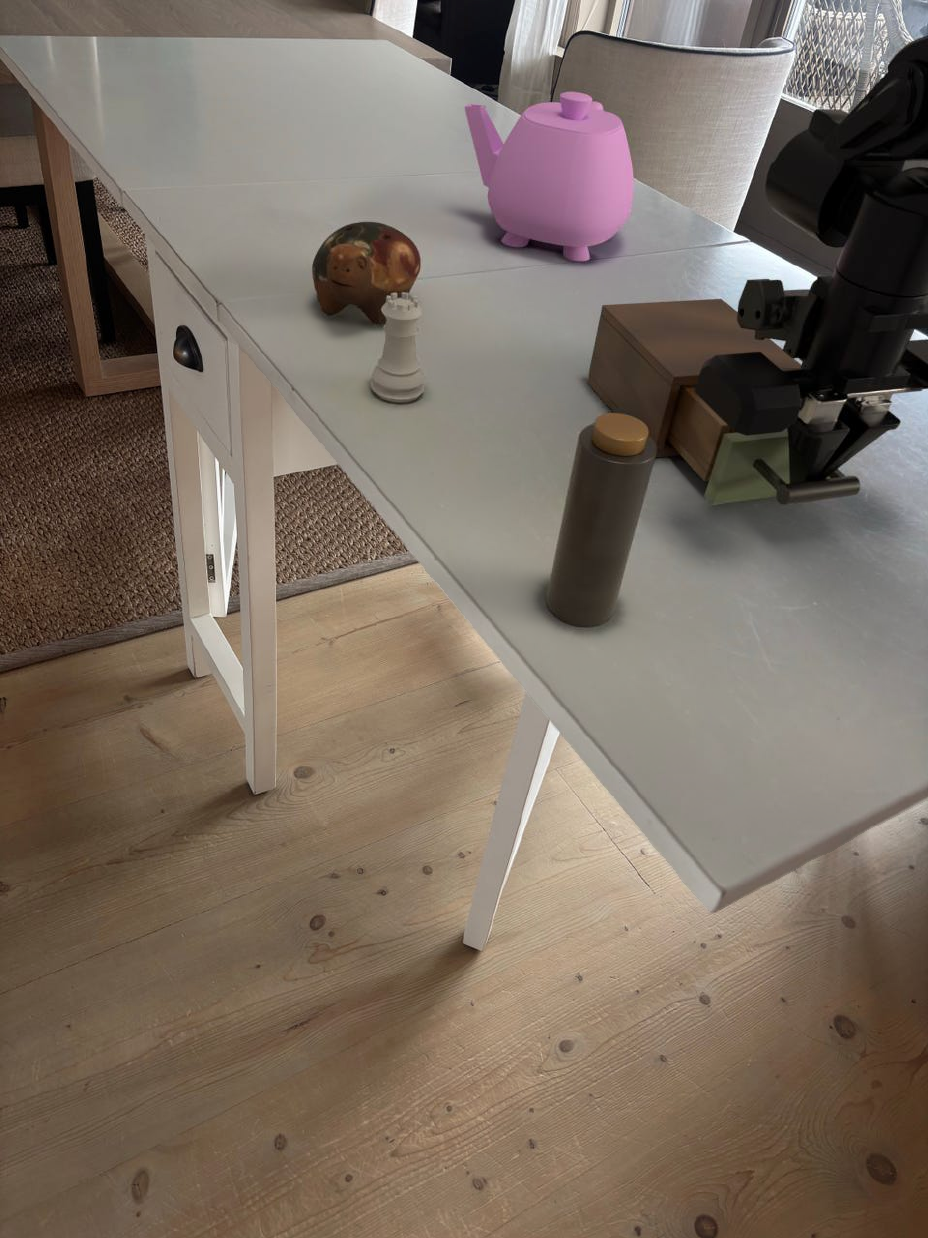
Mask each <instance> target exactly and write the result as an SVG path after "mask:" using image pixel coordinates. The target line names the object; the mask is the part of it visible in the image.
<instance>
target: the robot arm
mask: <svg viewBox="0 0 928 1238" xmlns="http://www.w3.org/2000/svg"><path fill="white" fill-rule="evenodd" d="M886 71H887V72H886V73H885V74H884V75H883V77H882V78H881V79H879V80H878V82H877V83H876V84H875V85H874V86H873V87H872V88H871V89H870V90H869V92H868V93H867V94H866V95H865V96H864V97H863V98H862V99H861V100H860V101H859V102H858V103H857V104H856V106H855V107H853V109H852V110H851V111H850V112H849V113H848V112H847V111H845V110H842V109H839V108H837V109H835V108H833V109H832V108H816V109H814V110H813V112H812V115H811V119H810V121H809V125H808V128H806V129H804V130H803V131H801V132H798V133H797V134H796V135H795V136H793V137H792V138H791V139H790V140H789V141H788V142H787V143H786V144H785V145H784V146H783V147H782V149H781V150H780V151H779V153H778V154H777V156H776V158H775V159H774V161H772V162H771V163H770V165H769V168H768V170H767V173H766V180H765V185H764V187H765V197H766V200H767V204H768V205H769V207H770V208H771V209H772V211H773V212H775V213H777V215H779V216H781V218H784V219H785V220H787V221H788V222H789V223H791V224H793V226H796V227H798V229H801V230H802V231H803V232H805V233H806V234H808V235H809V236H811V237H813V238H814V239H816V240H817V241H819V242H820V243H822V244H824V245H825V246H827V247H831V248H833V249H834V248H835V249H836V248H837V249H840V248H842V250H841V252H840V255H839V258H838V260H837V263H836V266H835V268H834V271H833V274H832V275H823V276H822V275H821V276H816V279H815V280H814V281H813V282H812V283H811V286H810V288H807V289H805V288H803V289H784V284H783V281H782V280H781V279H769V278H757V279H756V278H755V279H754V278H753V279H747V280H746V282H745V284H744V287H743V289H742V291H741V295H740V298H739V300H738V305H737V312H738V313H737V322H738V324H739V326H740V327H741V328H744V329H751V330H755V339H757V340H764V339H765V338H769V339H771V340H775V341H781V342H784V345H783V348H782V349H783V351H784V352H785V353H786V354H787V355H789V356H790V357H791V358H794V359H799V361H801V369H800V370H788V371H782V370H781V369H780V368H779V367H778V366H776V365H775V364H774V363H773V362H772V361H771V360H769V359H768V358H767V357H766V356H765V355H764V354H762V353H761V352H749V353H736V354H723V355H715V356H713V357H712V358H710V359H708V360H707V361H705V362H704V364H703V366H702V368H701V371H700V374H699V378H698V381H697V385H696V388H695V391H694V392H695V393H696V394H697V395H698V396H699V397H700V398H701V399H702V400H703V401H704V402H705V403H706V404H707V405H708V406H709V407H710V408H711V409H712V410H713V411H714V412H715V413H716V414H717V415H718V416H719V417H720V418H721V419H722V420H723V421H724V422H725V423H726V424H727V425H728V426H729V427H730V428H731V429H732V430H733V431H734V432H737V433H740V434H743V435H746V436H749V435H759V434H768V433H778V432H782V431H784V430H785V429H786V428H787V432H788V442H789V477H790V483H798V482H806V481H814V480H822V479H826V478H827V477H828V476H830V475H831V474H832V473H833V472H835V471H836V470H837V469H838V470H839V469H840V468H841V467H842V466H843V465H844V464H846V463H847V462H848V461H850V460H851V459H852V458H853V457H855V456H856V455H857V454H858V453H860V452H861V451H863V450H864V449H865V448H867V447H868V446H870V445H871V444H872V443H873V442H875V441H876V440H877V439H879V438H880V437H882V436H883V435H884V434H886V433H888V432H889V431H894V430H897V429H898V427H899V426H900V424H901V422H902V421H901V420H900V418H899V417H897V416H896V415H895V414H894V413H893V412H891V411H890V407H891V405H892V403H893V402H892V401H891V399H892V397H893V395H895V394H906V393H915V392H916V393H917V392H922V391H923V390H928V338H925V339H912V336H913V334H914V332H915V330H919V329H928V304H927V302H928V167H926V166H915V167H910V168H906V169H904V167H905V163H906V162H928V34H926V35H925V36H921V37H918V38H916V39H914V40H912V41H909V42H908V43H906V44H905V45H904V46H903V47H902V48H900V50H898V51H897V52H896V53H895V55H894V56H893V57H892V59H891V60H890V61H889V63H888V64H887V66H886ZM911 339H912V340H911Z"/></svg>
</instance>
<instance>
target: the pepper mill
mask: <svg viewBox="0 0 928 1238" xmlns="http://www.w3.org/2000/svg"><path fill="white" fill-rule="evenodd" d="M648 433H649V432H648V428H647V426H646V425H645V424H644V423H643V422H642V421H641V420H639V419H637V418H635V417H633V416H630V415H626V414H620V413H613V412H611V413H605V414H601V415H599V416H598V417H597V418H596V419H595V421H594V423H592V424H589V425H587V426H585V427H584V428H582V430H581V431H580V433H579V435H578V437H577V438H578V439H577V442H576V443H577V444H576V449H575V453H574V460H573V462H572V463H573V464H572V468H571V474H570V478H569V484H568V488H567V493H566V498H565V504H564V507H563V511H562V517H561V523H560V528H559V532H558V538H557V543H556V547H555V552H554V557H553V562H552V566H551V572H550V576H549V582H548V586H547V591H546V597H545V602H546V605H547V607H548V609H549V611H550V612H551V614H552V615H553V616H555V617H556V618H557V619H558V620H561V622H562V621H563V622H565V623H567V624H570V625H573V626H577V627H586V628H587V627H596V626H600V625H602V624H604V623H606V622H607V621H609V620H610V619H611V618H612V616H613V614H614V612H615V609H616V605H617V601H618V597H619V593H620V590H621V586H622V582H623V579H624V575H625V571H626V568H627V564H628V560H629V557H630V552H631V549H632V545H633V542H634V538H635V534H636V530H637V527H638V523H639V520H640V516H641V511H642V508H643V505H644V500H645V499H646V494H647V489H648V487H649V482H650V479H651V475H652V472H653V468H654V464H655V461H656V458H655V457H656V453H657V446H656V444H655V442H654V440H653V439H652V438H651V437H650V436H649V435H648Z"/></svg>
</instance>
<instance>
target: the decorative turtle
mask: <svg viewBox="0 0 928 1238" xmlns="http://www.w3.org/2000/svg"><path fill="white" fill-rule="evenodd" d="M421 262H422V261H421V254H420V251H419V250H418V247H417V246H416V244H415V243H414V241H413V240H412V239H411V238H410V237H408V236H407V235H406V234H404V232H402V231H400V230H398V229H397V228H395V227H393V226H390V225H389V224H385V223H382V222H377V221H359V222H358V221H357V222H353V223H349V224H346V225H344V226H341V227H339V228H338V229H336V230H335V231H334V232H332V233H331V234H330V235H328V237H327V238H325V240H324V241H323V242H322V244H321V245H320V247H319V248H318V250H317V251H316V253H315V255H314V258H313V261H312V266H311V272H312V279H313V284H314V285H313V286H314V290H315V292H316V297H317V301H318V304H319V306H320V309H321V311H322V312H323V313H324V315H326V316H328V317H332V316H335V315H338V314H339V313H340V312H342V311H343V310H344V309H345V308H346V307H348V306H350V305H352V306H354V307H356V308H358V309H359V310H360V311H361V312H362V313H363V314H364V316H365V317H366V318H367V319H368V320H369V321H370V322H371V323H372V324H374V325H377V326H381V325H383V324H386V322H387V321H386V317H385V316H384V314H383V313H382V311H381V308H382V306H383V305H384V304H385V303H386V298H387V295H388V296H391V293H395V292H396V293H397V298H402V292H404V293H408V294H410V291H411V290H412V287H413V286H414V284H415V282H416V281H417V279H418V277H419V274H420V271H421V266H422V265H421Z"/></svg>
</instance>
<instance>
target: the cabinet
mask: <svg viewBox="0 0 928 1238" xmlns="http://www.w3.org/2000/svg"><path fill="white" fill-rule="evenodd" d="M737 313H738V310H736V309H734V308H733V307H732V306H731V305H730V304H728V302H726V301H725V300H724V299H722V298H710V299H709V298H708V299H692V300H691V299H689V300H671V301H653V302H633V303H616V304H615V303H614V304H602V305H601V310H600V316H599V319H598V324H597V325H598V326H597V330H596V336H595V340H594V345H593V349H592V355H591V360H590V366H589V370H588V376H587V380H586V382H587V384H588V385H589V386H590V387H591V388H592V389H593V391H594V392H595V393H596V394H597V395H598V396H599V398H600V399H601V400H602V401H603V402H604V403H605V405H606V406H607V407H608V408H609V410H611V413H620V414H626V415H630V416H633V417H635V418H637V419H639V420H641V421H642V422H643V423H644V424H645V425H646V426H647V428H648V432H649V433H648V435H649V436H650V437H651V438H652V439H653V440H654V442H655V444H656V446H657V453H656V457H655V459H656V458H665V457H675V456H681V455H680V454H679V453H678V451H677V450H676V449H675V448H674V447H673V446H672V445H671V444H670V443H669V441H668V440H667V439H666V436H667V433H668V429H669V426H670V422H671V418H672V415H673V411H674V407H675V404H676V400H677V396H678V393H679V389H680V385H692V384H697V381H698V378H699V374H700V371H701V368H702V366H703V364H704V362H705V361H707V360H708V359H710V358H712V357H713V356H715V355H723V354H736V353H749V352H761V353H762V354H764V355H765V356H766V357H767V358H768V359H769V360H771V361H772V362H773V363H774V364H775V365H776V366H778V367H779V368H780V369H781V370H782V371H788V370H800V369H801V365H802V363H800V362H799V361H798V360H797V359H796V358H791V357H790V356H789V355H787V354H786V353H785V352H784V351H783V348H781V347H780V345H778V344H777V343H776V342H774V341H773V339H769V338H765V339H764V340H757V339H755V330H751V329H744V328H741V327H740V326H739V324H738V322H737Z"/></svg>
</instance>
